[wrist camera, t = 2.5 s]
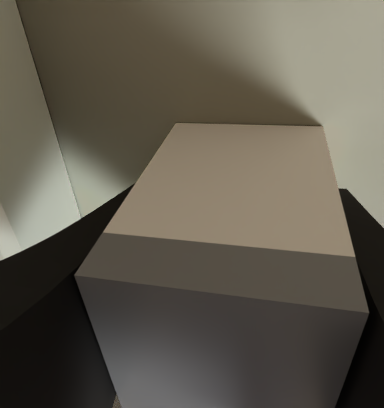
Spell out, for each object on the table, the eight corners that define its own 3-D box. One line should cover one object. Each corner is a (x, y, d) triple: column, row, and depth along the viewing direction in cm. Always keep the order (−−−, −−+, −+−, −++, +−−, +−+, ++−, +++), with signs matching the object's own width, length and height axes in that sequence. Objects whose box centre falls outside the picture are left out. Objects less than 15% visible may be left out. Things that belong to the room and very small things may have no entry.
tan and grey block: (303, 242, 11) (319, 449, 6) (185, 231, 12) (122, 407, 7) (322, 126, 9) (369, 313, 4) (175, 122, 10) (74, 275, 5)
